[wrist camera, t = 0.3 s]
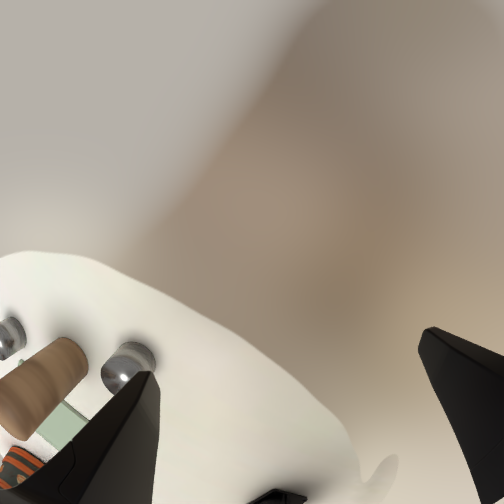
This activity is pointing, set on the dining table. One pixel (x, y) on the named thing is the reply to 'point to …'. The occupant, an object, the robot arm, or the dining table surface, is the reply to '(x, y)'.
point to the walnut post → (40, 386)
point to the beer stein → (17, 467)
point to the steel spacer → (11, 337)
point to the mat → (61, 424)
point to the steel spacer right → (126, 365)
